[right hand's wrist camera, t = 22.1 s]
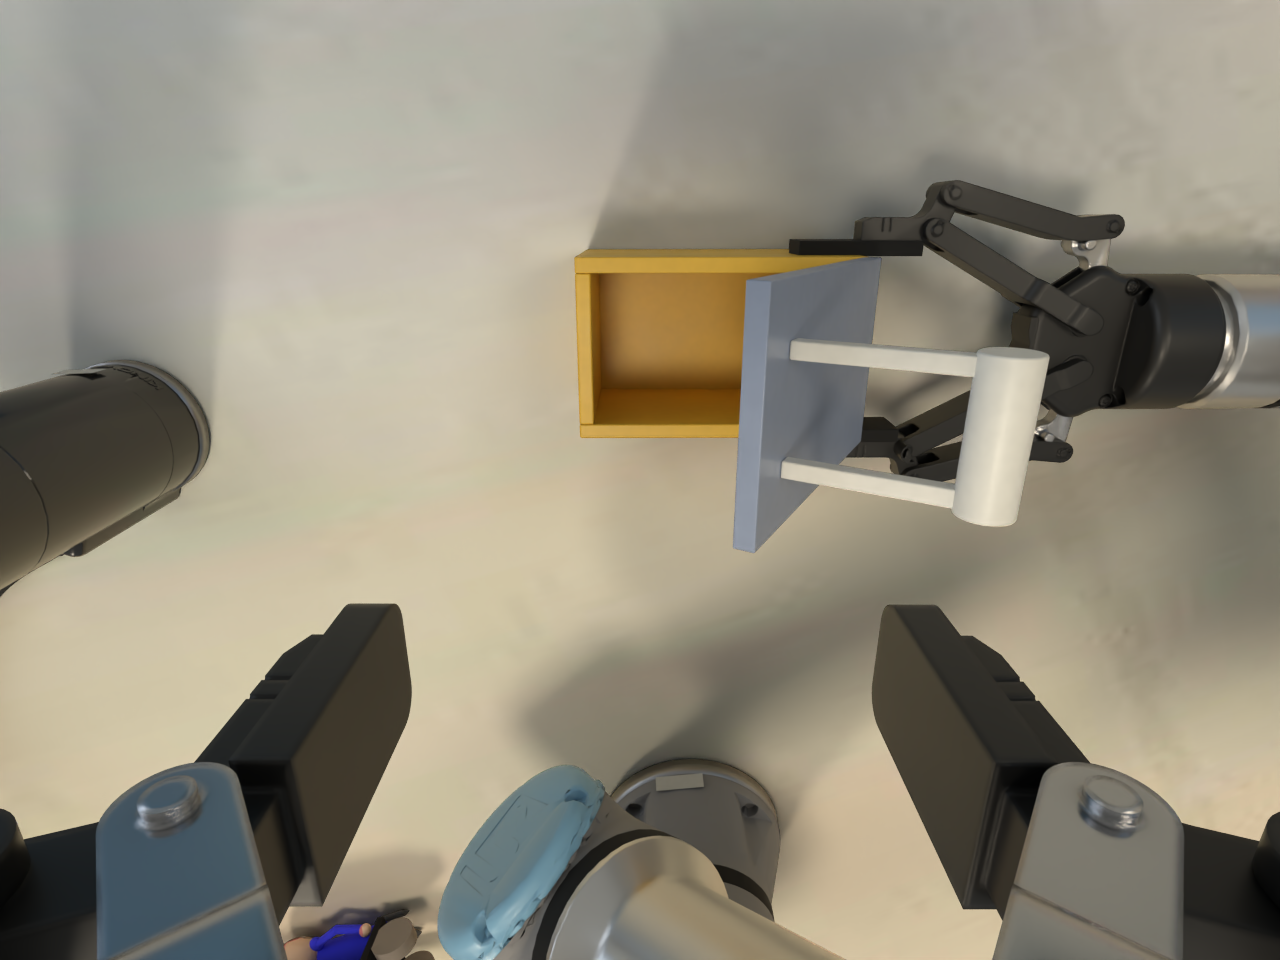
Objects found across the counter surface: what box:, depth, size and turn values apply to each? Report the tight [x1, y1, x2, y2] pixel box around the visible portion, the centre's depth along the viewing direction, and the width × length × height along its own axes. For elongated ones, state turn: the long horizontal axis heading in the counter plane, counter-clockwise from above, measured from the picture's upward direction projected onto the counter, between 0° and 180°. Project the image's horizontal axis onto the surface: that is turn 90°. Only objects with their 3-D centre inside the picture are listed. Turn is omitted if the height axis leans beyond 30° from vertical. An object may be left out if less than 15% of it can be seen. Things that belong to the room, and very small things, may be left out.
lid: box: [733, 257, 1049, 553], centre depth 29 cm, size 16×10×9 cm
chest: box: [574, 249, 867, 438], centre depth 42 cm, size 15×10×10 cm, turn 90°
